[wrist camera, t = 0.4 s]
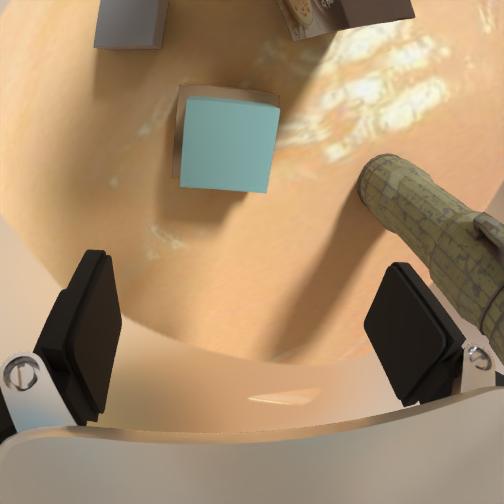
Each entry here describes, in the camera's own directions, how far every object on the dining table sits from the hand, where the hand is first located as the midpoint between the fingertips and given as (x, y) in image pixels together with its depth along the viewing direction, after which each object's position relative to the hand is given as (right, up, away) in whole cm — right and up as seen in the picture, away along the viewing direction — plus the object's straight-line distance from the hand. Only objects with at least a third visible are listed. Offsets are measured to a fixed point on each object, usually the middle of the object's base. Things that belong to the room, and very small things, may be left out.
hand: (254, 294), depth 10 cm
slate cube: (-13, +26, +16) cm, 34 cm away
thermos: (+19, +11, +31) cm, 37 cm away
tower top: (-3, +13, +20) cm, 24 cm away
